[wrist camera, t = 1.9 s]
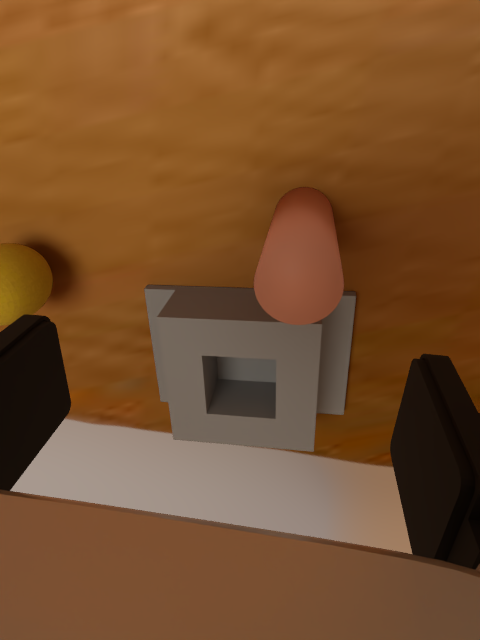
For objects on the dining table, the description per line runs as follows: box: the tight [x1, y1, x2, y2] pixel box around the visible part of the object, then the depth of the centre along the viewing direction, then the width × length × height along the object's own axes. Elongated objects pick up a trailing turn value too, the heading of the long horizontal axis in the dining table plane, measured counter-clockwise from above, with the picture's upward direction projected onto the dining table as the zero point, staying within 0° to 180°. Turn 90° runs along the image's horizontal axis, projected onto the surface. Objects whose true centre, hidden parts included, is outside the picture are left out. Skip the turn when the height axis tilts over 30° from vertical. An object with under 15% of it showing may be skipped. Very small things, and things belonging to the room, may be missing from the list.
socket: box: [144, 285, 356, 452], centre depth 33 cm, size 16×11×5 cm
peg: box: [254, 187, 344, 325], centre depth 24 cm, size 4×4×12 cm
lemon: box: [0, 243, 53, 326], centre depth 31 cm, size 6×6×8 cm
